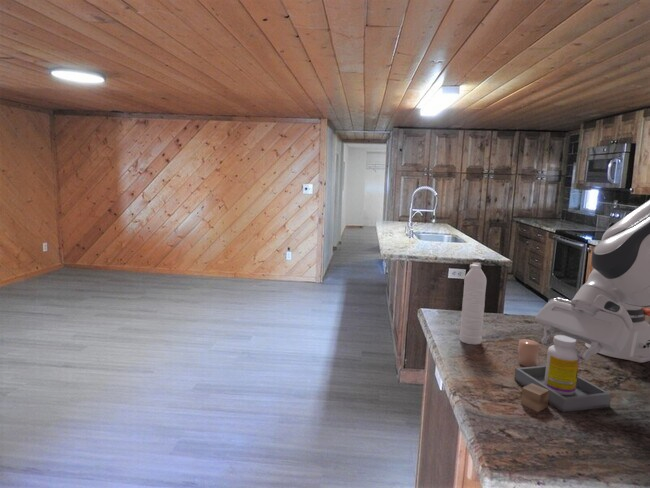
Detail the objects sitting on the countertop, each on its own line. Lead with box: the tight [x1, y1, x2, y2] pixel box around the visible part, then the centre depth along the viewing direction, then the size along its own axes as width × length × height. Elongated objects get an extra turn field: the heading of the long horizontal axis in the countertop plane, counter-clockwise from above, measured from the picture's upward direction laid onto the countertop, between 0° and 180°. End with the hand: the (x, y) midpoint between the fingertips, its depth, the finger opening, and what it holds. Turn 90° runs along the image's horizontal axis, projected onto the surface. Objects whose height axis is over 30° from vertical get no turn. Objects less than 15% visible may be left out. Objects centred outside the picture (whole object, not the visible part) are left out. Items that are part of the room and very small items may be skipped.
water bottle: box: [459, 262, 487, 345], centre depth 133 cm, size 9×6×25 cm
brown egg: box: [516, 338, 540, 367], centre depth 119 cm, size 5×5×6 cm
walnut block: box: [520, 383, 549, 413], centre depth 97 cm, size 4×4×4 cm
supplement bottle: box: [544, 334, 580, 395], centre depth 102 cm, size 7×7×13 cm
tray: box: [514, 364, 612, 413], centre depth 103 cm, size 13×16×3 cm
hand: (562, 351), depth 103 cm, fingers open, 8 cm apart
